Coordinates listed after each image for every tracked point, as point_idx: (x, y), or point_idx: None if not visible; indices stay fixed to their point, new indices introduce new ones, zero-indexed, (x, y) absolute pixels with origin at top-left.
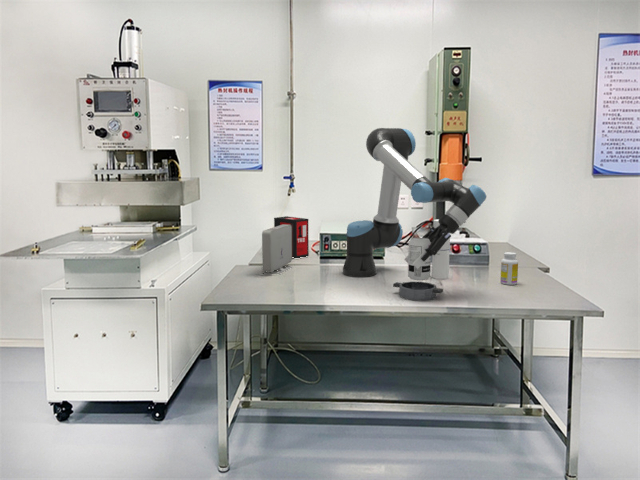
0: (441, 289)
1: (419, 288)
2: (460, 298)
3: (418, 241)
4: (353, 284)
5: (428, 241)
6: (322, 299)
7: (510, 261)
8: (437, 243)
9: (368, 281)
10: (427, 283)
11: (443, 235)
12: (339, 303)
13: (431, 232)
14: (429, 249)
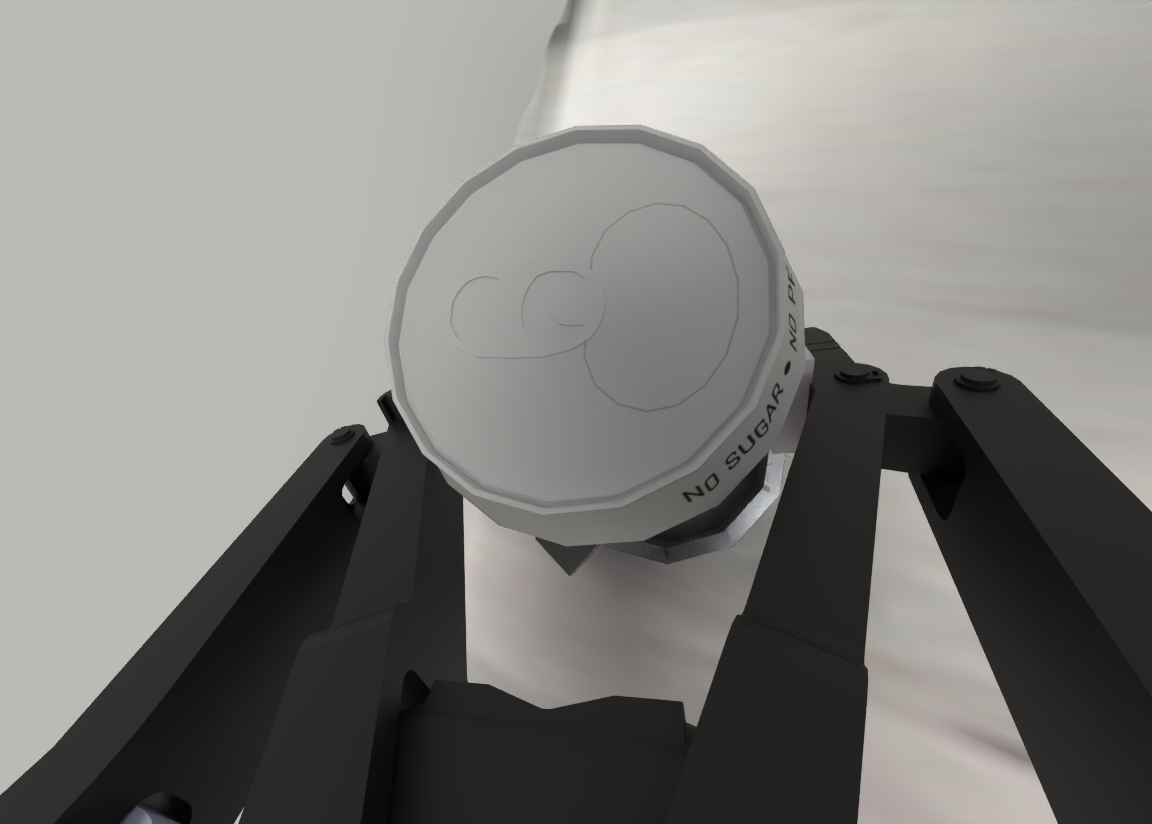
0: (557, 557)
1: (756, 483)
2: (579, 675)
3: (423, 257)
4: (1001, 123)
5: (429, 451)
6: (654, 21)
7: None
8: (245, 545)
9: (1120, 214)
10: (726, 528)
11: (25, 774)
12: (582, 90)
13: (799, 787)
14: (390, 440)
